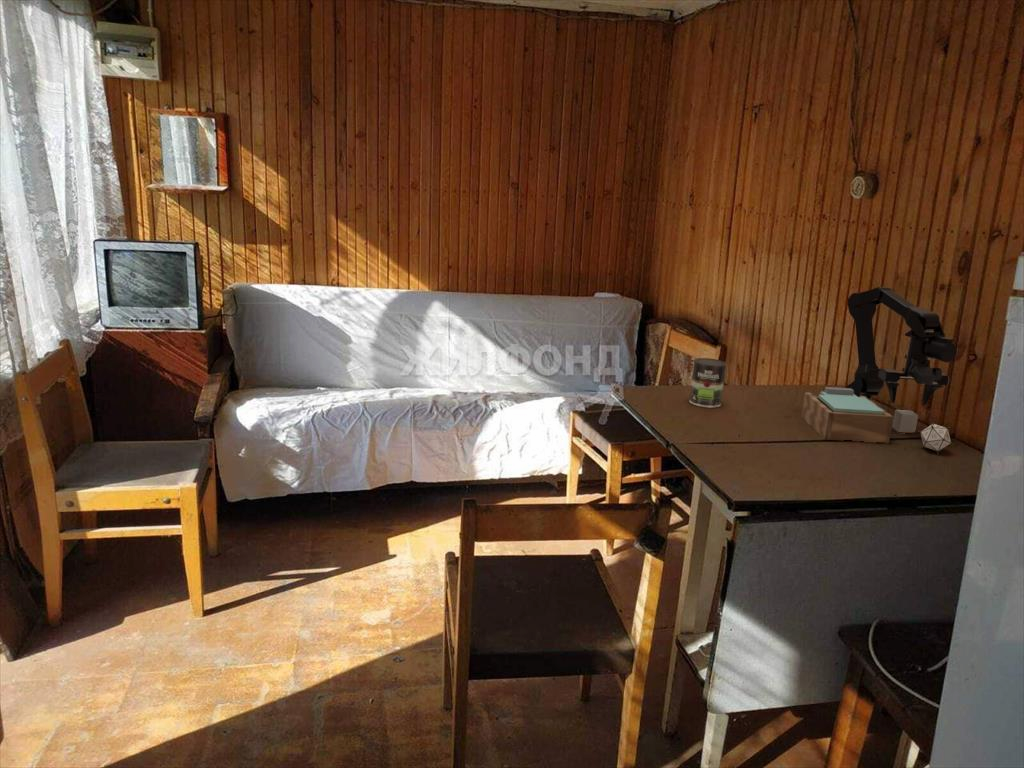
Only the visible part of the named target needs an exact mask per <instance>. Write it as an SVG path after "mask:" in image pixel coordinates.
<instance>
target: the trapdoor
mask: <svg viewBox="0 0 1024 768" xmlns="http://www.w3.org/2000/svg"><path fill="white" fill-rule="evenodd" d="M818 396H819V397H818V398H819V399H820V400H821V401H823V402H824V403H825V404H826V405H827V406H828V407H830V408H831V409H832V410H833V411H834V412H851V413H867V414H883V412H884V411H883V410H884V409H883V410H881V409H880V408H879V407H880V406H879V407H877V406H876V405H877V404H876V405H874V404H873V403H872V402H873V401H872V402H870V401H869V400H868V399H866V398H865V397H857V396H856V395H855V394H854V390H853V389H851V388H846V387H832V386H831V387H830V386H825V387H824V391H820V394H818Z"/></svg>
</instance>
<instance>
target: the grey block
mask: <svg viewBox="0 0 1024 768" xmlns="http://www.w3.org/2000/svg"><path fill="white" fill-rule="evenodd" d="M893 417H894V419H893V424H892V427H893V428H895V429H896V430H897V431H899V432H915V433H916V431H917V426H918V425H917V424H918V420H919V414H917V413H915V412H914V411H912V410H910V409H909V410H908V409H895V411H894V415H893ZM893 428H892V429H893Z"/></svg>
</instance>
